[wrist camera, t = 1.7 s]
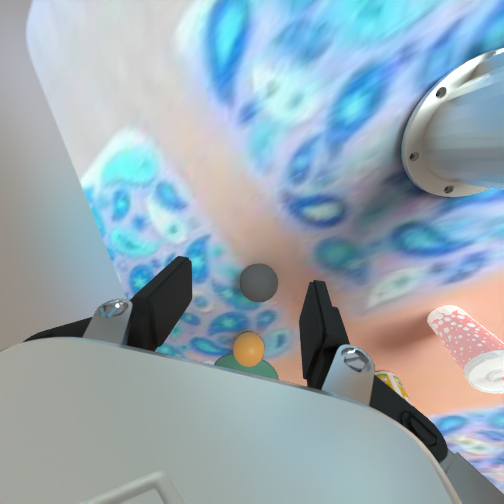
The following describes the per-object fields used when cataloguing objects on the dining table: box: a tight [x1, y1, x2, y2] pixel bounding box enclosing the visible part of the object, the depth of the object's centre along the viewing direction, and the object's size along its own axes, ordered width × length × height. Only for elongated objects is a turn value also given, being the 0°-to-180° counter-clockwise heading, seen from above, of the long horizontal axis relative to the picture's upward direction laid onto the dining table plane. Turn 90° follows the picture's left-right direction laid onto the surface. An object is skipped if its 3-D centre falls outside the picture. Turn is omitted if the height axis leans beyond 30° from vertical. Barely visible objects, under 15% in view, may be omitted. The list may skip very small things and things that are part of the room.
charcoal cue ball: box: [240, 264, 278, 302], centre depth 29 cm, size 6×6×6 cm
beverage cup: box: [427, 305, 504, 393], centre depth 24 cm, size 6×6×14 cm
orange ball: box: [233, 332, 265, 367], centre depth 36 cm, size 6×6×6 cm
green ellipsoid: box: [215, 354, 278, 380], centre depth 43 cm, size 14×14×1 cm
